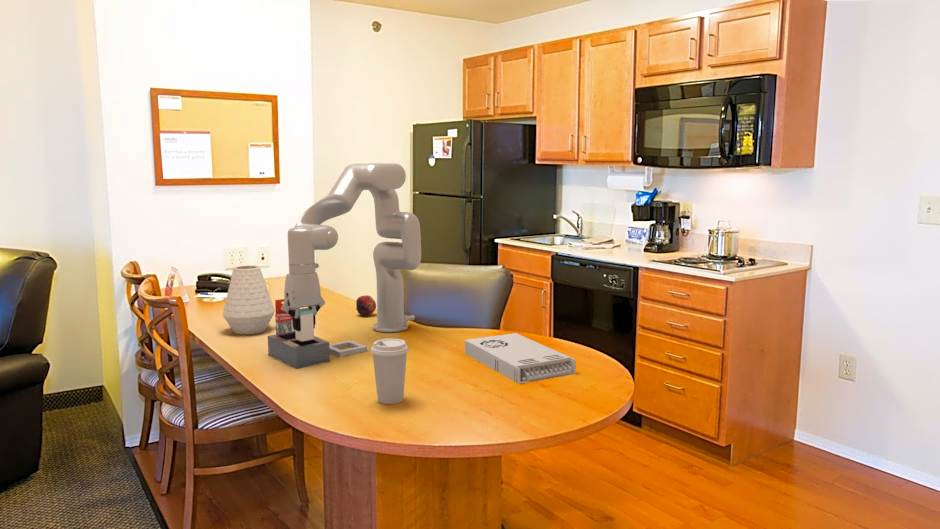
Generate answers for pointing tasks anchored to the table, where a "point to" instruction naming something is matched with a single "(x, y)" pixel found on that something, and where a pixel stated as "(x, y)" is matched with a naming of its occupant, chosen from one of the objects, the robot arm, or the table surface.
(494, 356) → the power supply unit
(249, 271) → the vase
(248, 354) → the table surface
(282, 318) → the ink box
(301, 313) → the plug
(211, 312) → the table surface
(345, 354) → the white square frame
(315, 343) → the port block
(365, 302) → the fruit
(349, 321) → the table surface
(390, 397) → the coffee cup
